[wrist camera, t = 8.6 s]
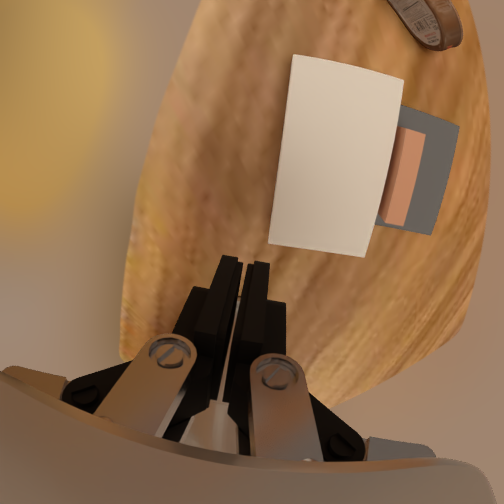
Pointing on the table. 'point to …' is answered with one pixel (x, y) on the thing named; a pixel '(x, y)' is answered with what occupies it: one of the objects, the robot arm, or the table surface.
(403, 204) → the tile
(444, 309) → the table surface
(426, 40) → the tin
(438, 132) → the mat
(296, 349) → the table surface
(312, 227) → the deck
